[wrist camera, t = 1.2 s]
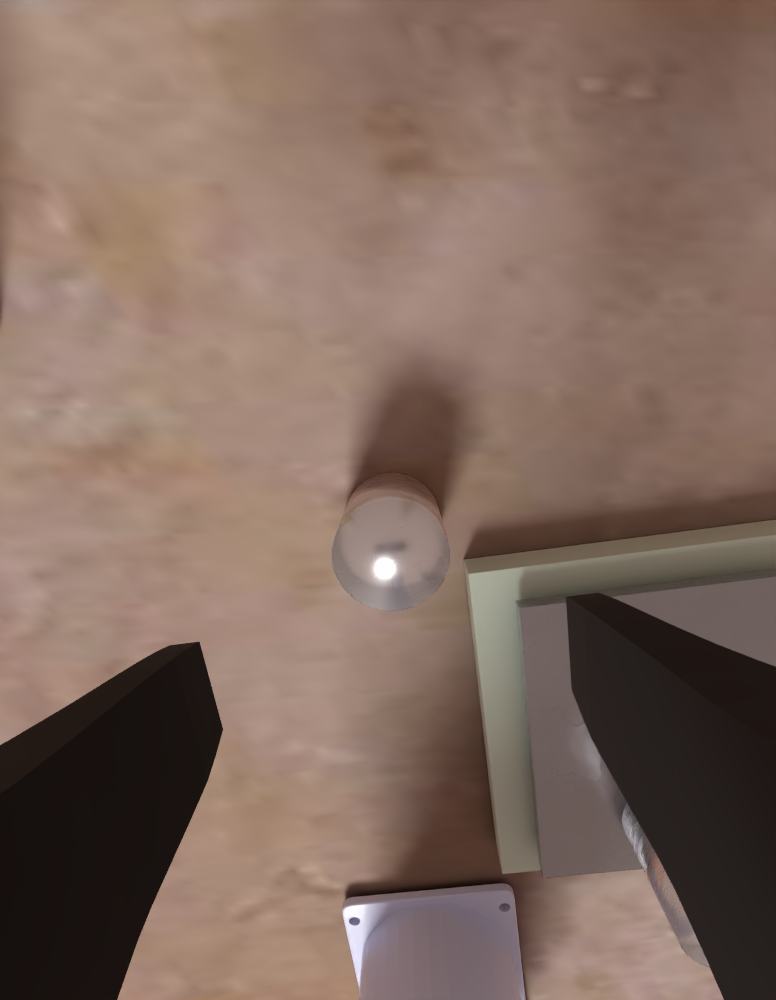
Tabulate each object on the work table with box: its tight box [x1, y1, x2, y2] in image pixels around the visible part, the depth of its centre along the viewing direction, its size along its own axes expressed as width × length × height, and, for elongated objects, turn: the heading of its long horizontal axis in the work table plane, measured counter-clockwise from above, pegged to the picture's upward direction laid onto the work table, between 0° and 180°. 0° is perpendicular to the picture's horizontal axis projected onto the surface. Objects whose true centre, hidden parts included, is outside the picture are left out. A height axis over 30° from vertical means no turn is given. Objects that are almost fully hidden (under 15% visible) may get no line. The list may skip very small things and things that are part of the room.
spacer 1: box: [332, 473, 450, 611], centre depth 17 cm, size 4×4×4 cm
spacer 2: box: [622, 803, 710, 967], centre depth 18 cm, size 4×4×4 cm
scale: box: [464, 520, 776, 874], centre depth 20 cm, size 14×14×2 cm
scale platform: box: [515, 568, 776, 878], centre depth 19 cm, size 12×10×2 cm
